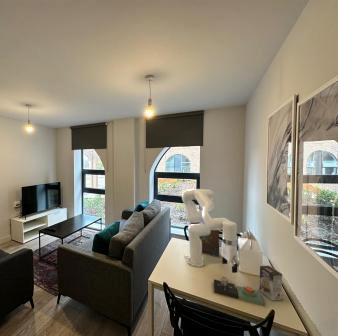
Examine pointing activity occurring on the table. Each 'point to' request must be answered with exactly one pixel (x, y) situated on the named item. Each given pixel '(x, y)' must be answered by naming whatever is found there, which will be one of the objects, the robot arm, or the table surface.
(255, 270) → the gable box
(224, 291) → the control panel
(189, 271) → the table surface
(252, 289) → the button
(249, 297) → the button housing
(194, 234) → the robot arm
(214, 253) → the decorative book
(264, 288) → the coffee box
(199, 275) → the table surface
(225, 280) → the dial
